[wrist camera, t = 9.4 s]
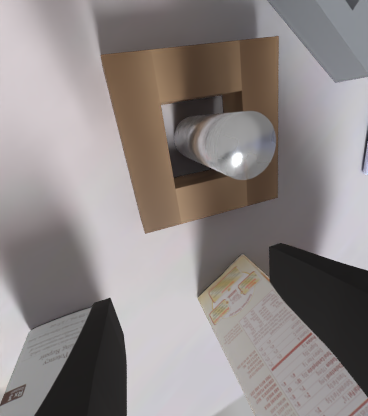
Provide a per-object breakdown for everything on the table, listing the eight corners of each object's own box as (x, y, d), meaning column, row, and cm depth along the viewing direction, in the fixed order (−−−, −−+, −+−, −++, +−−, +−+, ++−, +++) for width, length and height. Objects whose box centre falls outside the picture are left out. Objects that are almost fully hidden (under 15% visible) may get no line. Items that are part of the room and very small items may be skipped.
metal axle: (210, 112, 18) (276, 105, 11) (214, 154, 19) (275, 172, 12) (170, 119, 17) (213, 117, 10) (177, 161, 18) (219, 186, 11)
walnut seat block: (252, 49, 17) (278, 36, 14) (256, 188, 21) (277, 197, 19) (102, 67, 15) (100, 54, 12) (140, 218, 19) (145, 233, 16)
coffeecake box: (305, 311, 30) (577, 576, 12) (266, 348, 30) (477, 658, 13) (243, 249, 24) (626, 622, 6) (194, 298, 24) (422, 784, 6)
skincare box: (96, 302, 21) (79, 501, 10) (114, 335, 23) (115, 534, 12) (25, 330, 20) (-84, 588, 9) (49, 362, 21) (-16, 610, 11)
